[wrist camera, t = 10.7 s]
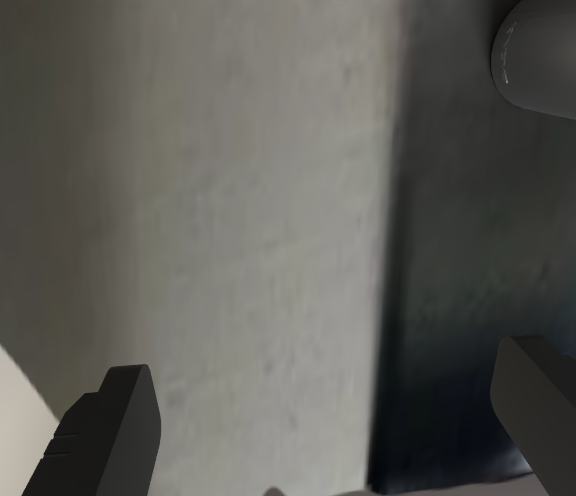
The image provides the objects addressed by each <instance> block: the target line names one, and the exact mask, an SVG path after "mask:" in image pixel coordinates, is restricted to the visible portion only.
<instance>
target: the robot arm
mask: <svg viewBox="0 0 576 496" xmlns="http://www.w3.org/2000/svg"><path fill="white" fill-rule="evenodd" d="M491 71H492V77H493V80H494V83H495V85H496V87H497V89H498V91H499V92H500V93H501V95H502V96H503V97H504V98H505V99H506V100H508V101H509V102H510V103H511V104H514V105H516V106H518V107H521V108H525V109H530V110H534V111H539V112H544V113H548V114H552V115H556V116H561V117H566V118H570V119H575V120H576V0H521V1H520V2H519V3H518V4H517V5H516V6H515V7H514V8H513V9H512V10H511V11H510V13H509V14H508V15H507V16H506V18H505V20H504V21H503V23H502V24H501V26H500V28H499V30H498V33H497V35H496V37H495V40H494V44H493V48H492V53H491ZM490 394H491V402H492V405H493V409H494V411H495V413H496V415H497V417H498V419H499V420H500V422H501V423H502V425H503V426H504V428H505V429H506V431H507V432H508V434H509V435H510V437H511V438H512V440H513V441H514V443H515V444H516V446H517V447H518V449H519V450H520V452H521V453H522V455H523V456H524V458H525V459H526V461H527V462H528V464H529V465H530V467H531V469H532V470H533V472H534V473H535V475H536V476H537V478H538V479H539V481H540V482H541V484H542V485H543V487H544V488H545V489H546V491H547V493H548V494H549V496H576V360H575V359H574V358H572V357H570V356H568V355H562V354H561V353H560V352H559V351H558V350H557V349H556V348H555V347H554V346H553V345H552V344H551V343H550V342H549V341H548V340H547V339H546V338H545V337H543V336H542V335H539V334H534V335H522V336H509V337H504V338H503V339H502V340H501V342H500V344H499V349H498V354H497V359H496V364H495V368H494V373H493V378H492V383H491V389H490ZM160 438H161V418H160V412H159V408H158V403H157V399H156V394H155V390H154V386H153V381H152V377H151V372H150V369H149V367H148V365H147V364H141V365H128V366H115V367H111V368H110V369H109V370H108V372H107V374H106V376H105V378H104V380H103V382H102V385H101V387H100V389H99V391H98V392H94V393H85V394H84V395H83V396H82V397H81V398H80V399H79V400H78V401H77V402H76V403H75V404H74V405H73V406H72V407H71V408H70V409H69V410H68V411H66V412H65V414H64V416H63V418H62V420H61V422H60V424H59V426H58V427H57V429H56V431H55V433H54V438H53V439H51V441H50V443H49V444H48V446H47V448H46V450H45V452H44V457H43V459H41V460H40V462H39V463H38V465H37V467H36V469H35V471H34V473H33V475H32V477H31V478H30V480H29V482H28V484H27V486H26V488H25V490H24V492H23V494H22V496H147V493H148V489H149V485H150V481H151V477H152V473H153V469H154V465H155V461H156V457H157V453H158V449H159V444H160Z"/></svg>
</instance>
